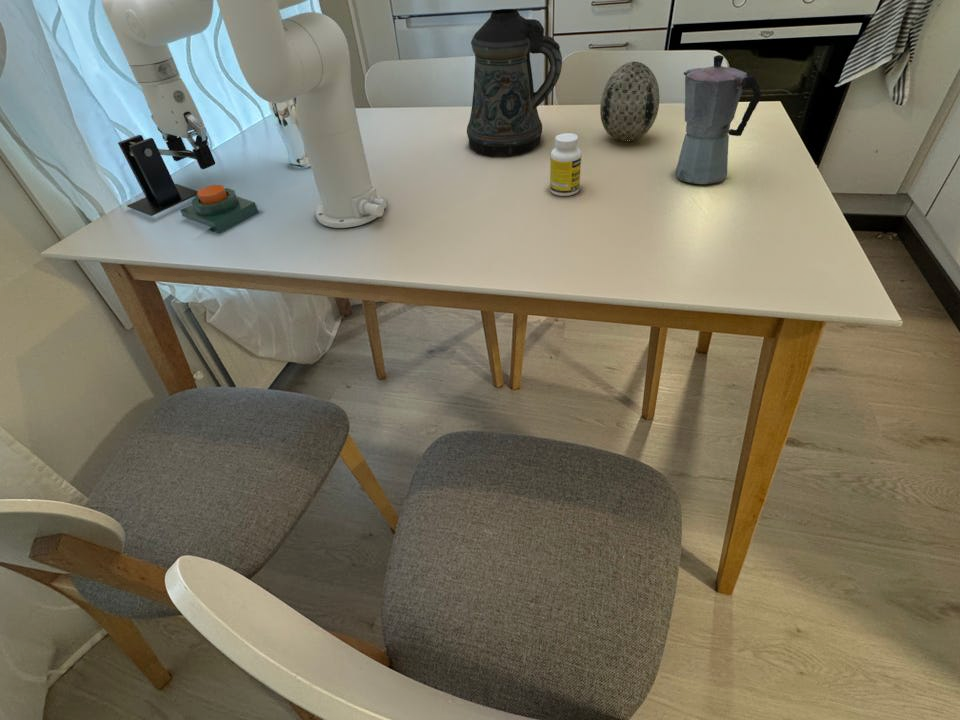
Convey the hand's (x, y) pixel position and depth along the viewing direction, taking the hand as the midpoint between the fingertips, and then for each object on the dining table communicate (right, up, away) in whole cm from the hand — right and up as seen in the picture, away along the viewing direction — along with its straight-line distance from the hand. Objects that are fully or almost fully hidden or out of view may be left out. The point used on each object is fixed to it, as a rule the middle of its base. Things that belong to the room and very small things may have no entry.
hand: (194, 162), depth 113 cm
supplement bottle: (+74, -9, -11) cm, 76 cm away
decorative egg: (+90, +6, +5) cm, 90 cm away
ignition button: (+9, -11, -11) cm, 18 cm away
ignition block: (+9, -13, -8) cm, 18 cm away
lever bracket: (-5, -9, -2) cm, 10 cm away
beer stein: (+66, +7, +9) cm, 67 cm away
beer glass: (+20, +3, +9) cm, 22 cm away
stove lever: (-3, -1, -5) cm, 6 cm away
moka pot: (+100, -7, -11) cm, 101 cm away
